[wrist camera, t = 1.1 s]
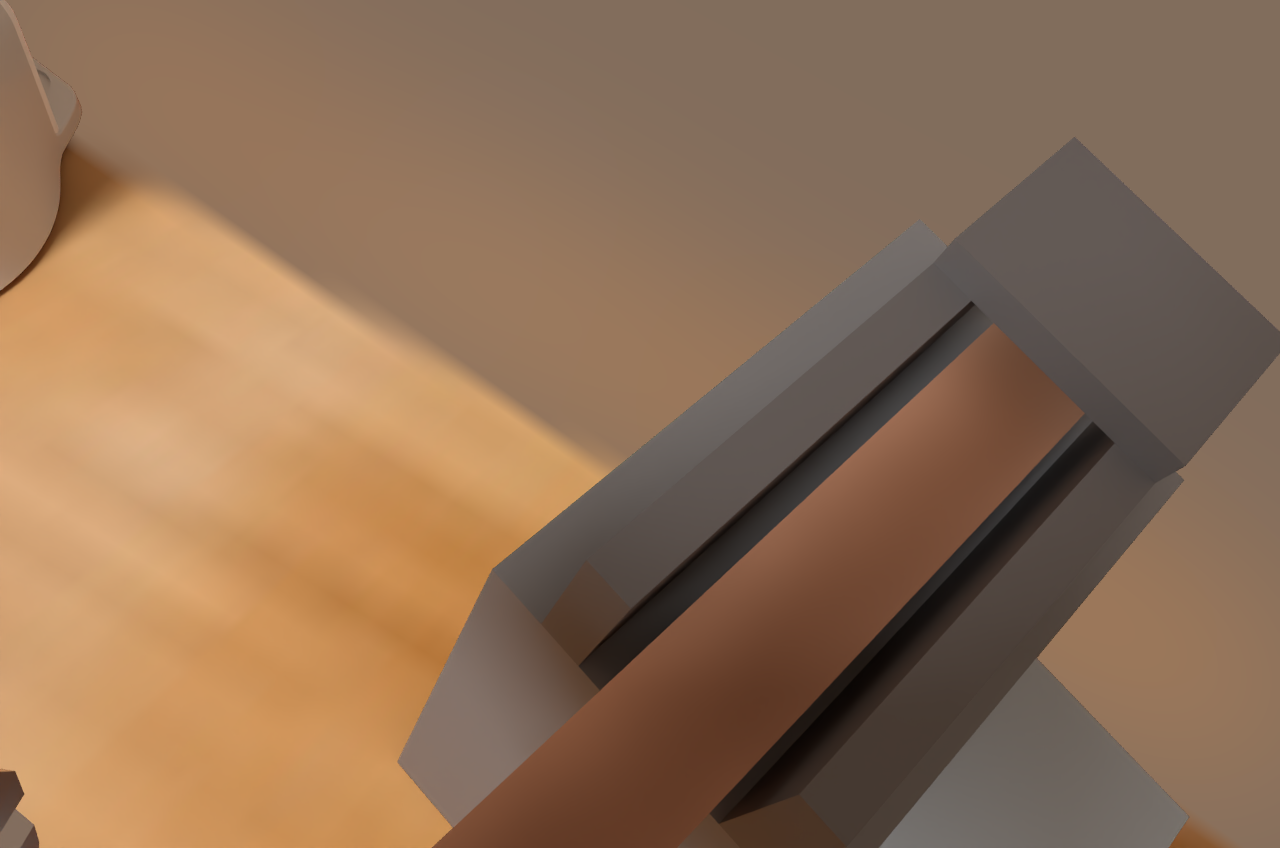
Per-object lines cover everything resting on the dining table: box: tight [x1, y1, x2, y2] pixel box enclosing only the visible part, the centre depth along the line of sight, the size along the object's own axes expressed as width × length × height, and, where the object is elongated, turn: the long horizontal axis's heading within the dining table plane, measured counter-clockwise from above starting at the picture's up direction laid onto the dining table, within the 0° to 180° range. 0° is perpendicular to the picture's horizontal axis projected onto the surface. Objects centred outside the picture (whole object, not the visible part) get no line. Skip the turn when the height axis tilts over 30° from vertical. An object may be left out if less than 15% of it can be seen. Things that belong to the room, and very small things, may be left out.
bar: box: [432, 323, 1085, 848], centre depth 25 cm, size 3×24×3 cm, turn 135°
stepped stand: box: [398, 137, 1280, 848], centre depth 37 cm, size 20×16×32 cm
